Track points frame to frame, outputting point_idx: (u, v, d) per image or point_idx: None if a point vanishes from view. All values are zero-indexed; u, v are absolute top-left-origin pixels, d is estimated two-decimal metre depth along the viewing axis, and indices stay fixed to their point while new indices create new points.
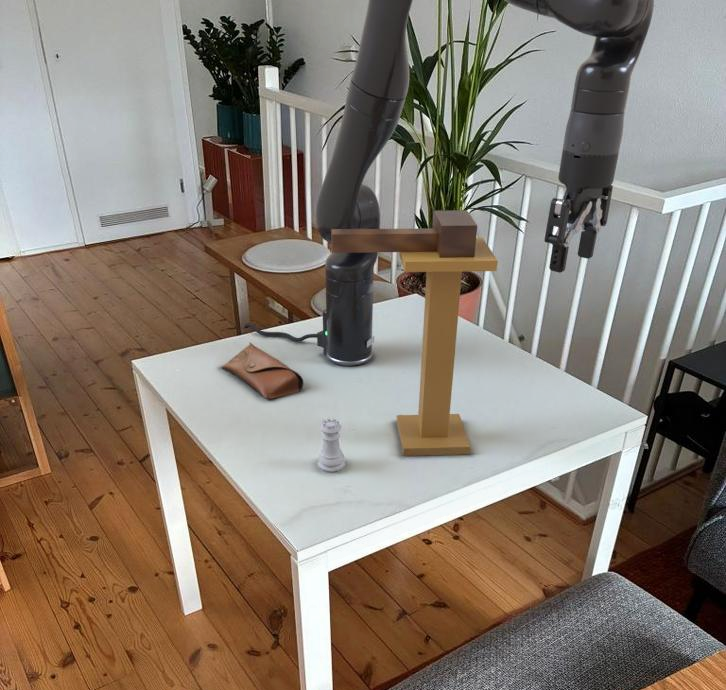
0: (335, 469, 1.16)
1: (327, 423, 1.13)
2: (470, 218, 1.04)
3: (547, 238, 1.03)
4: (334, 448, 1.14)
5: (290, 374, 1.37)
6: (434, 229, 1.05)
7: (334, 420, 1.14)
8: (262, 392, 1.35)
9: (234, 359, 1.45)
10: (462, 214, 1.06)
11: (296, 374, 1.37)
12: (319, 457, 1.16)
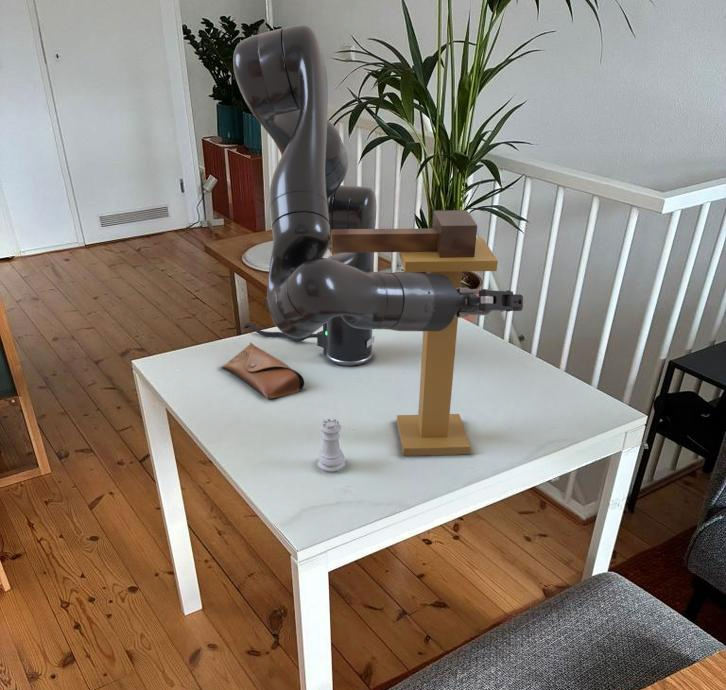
0: (335, 469, 1.16)
1: (327, 423, 1.13)
2: (470, 218, 1.04)
3: None
4: (334, 448, 1.14)
5: (290, 374, 1.37)
6: (434, 229, 1.05)
7: (334, 420, 1.14)
8: (263, 392, 1.35)
9: (234, 359, 1.45)
10: (462, 214, 1.06)
11: (297, 374, 1.37)
12: (319, 457, 1.16)
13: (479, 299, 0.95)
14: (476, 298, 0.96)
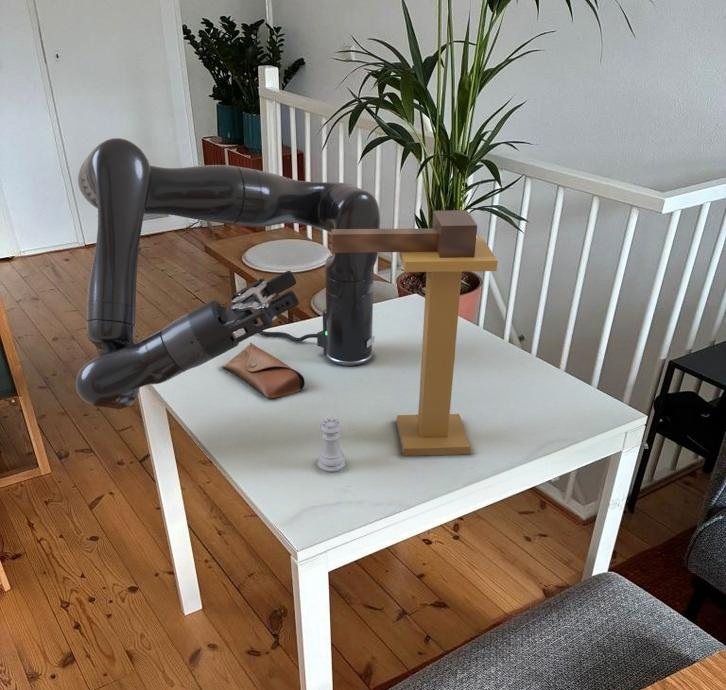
0: (335, 469, 1.16)
1: (327, 423, 1.13)
2: (470, 218, 1.04)
3: None
4: (334, 448, 1.14)
5: (291, 374, 1.37)
6: (434, 229, 1.05)
7: (334, 420, 1.14)
8: (264, 392, 1.36)
9: (234, 359, 1.45)
10: (462, 214, 1.06)
11: (297, 373, 1.37)
12: (319, 457, 1.16)
13: None
14: None
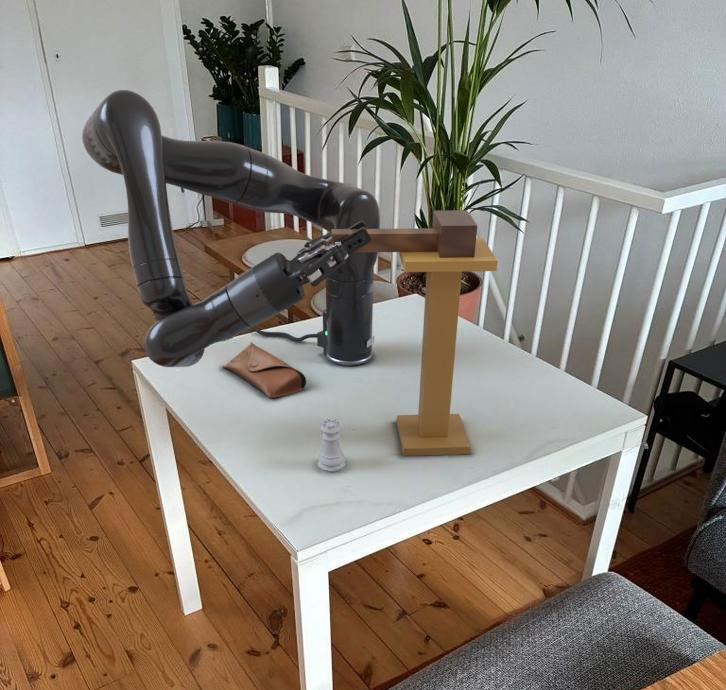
0: (335, 469, 1.16)
1: (327, 423, 1.13)
2: (470, 218, 1.04)
3: None
4: (334, 448, 1.14)
5: (292, 373, 1.37)
6: (434, 229, 1.05)
7: (334, 420, 1.14)
8: (265, 391, 1.36)
9: (235, 359, 1.45)
10: (462, 214, 1.06)
11: (299, 373, 1.37)
12: (319, 457, 1.16)
13: (307, 278, 1.02)
14: (306, 277, 1.02)
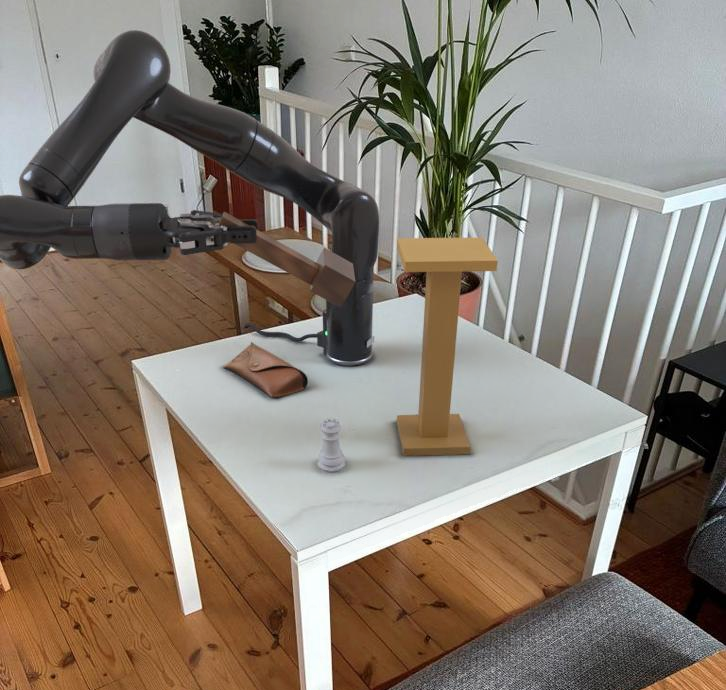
0: (335, 469, 1.16)
1: (327, 423, 1.13)
2: (352, 272, 1.07)
3: None
4: (334, 448, 1.14)
5: (294, 373, 1.37)
6: (317, 264, 1.07)
7: (334, 420, 1.14)
8: (267, 391, 1.36)
9: (236, 358, 1.45)
10: (347, 265, 1.09)
11: (301, 372, 1.37)
12: (319, 457, 1.16)
13: (179, 244, 0.98)
14: (178, 241, 0.98)
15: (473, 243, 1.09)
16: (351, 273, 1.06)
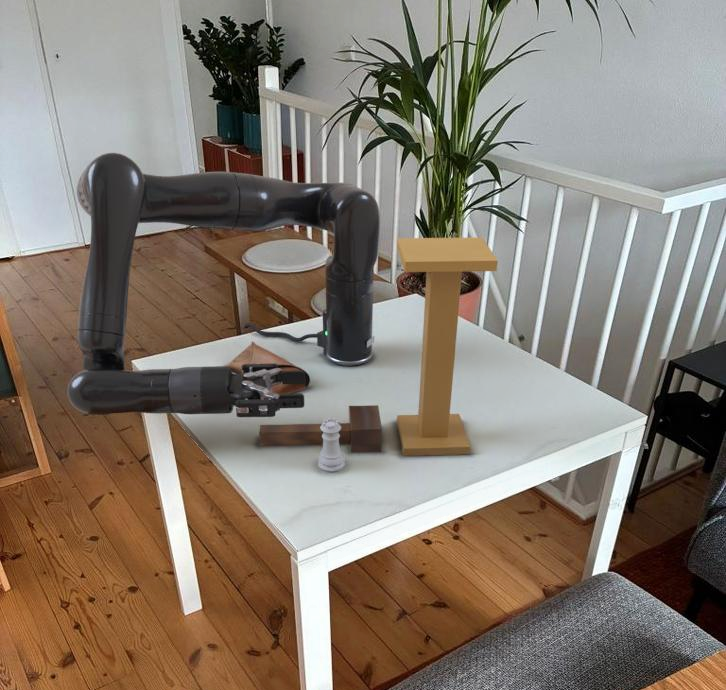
0: (335, 469, 1.16)
1: (327, 423, 1.13)
2: (378, 418, 1.21)
3: None
4: (334, 448, 1.14)
5: None
6: (348, 424, 1.23)
7: (334, 420, 1.14)
8: (270, 390, 1.36)
9: (237, 358, 1.45)
10: (372, 411, 1.23)
11: None
12: (319, 457, 1.16)
13: (236, 407, 1.12)
14: None
15: (473, 243, 1.09)
16: (377, 420, 1.21)
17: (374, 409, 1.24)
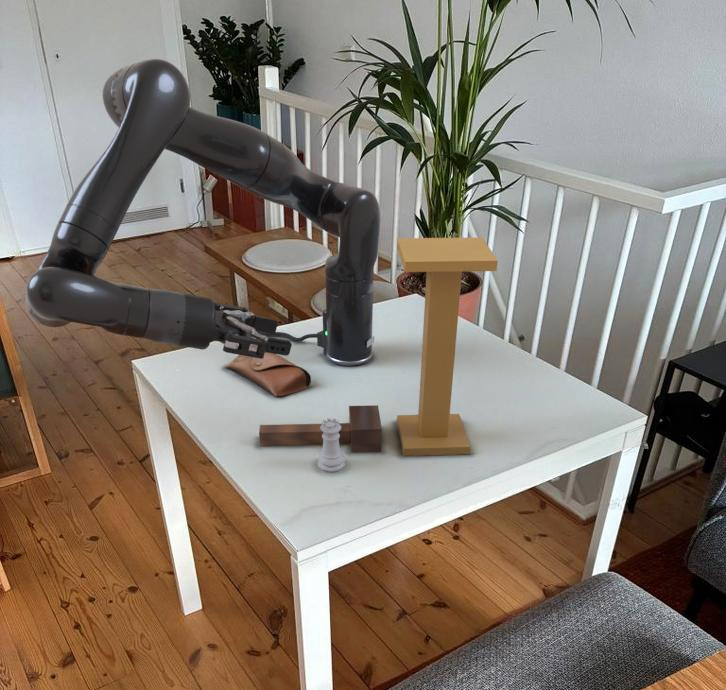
0: (335, 469, 1.16)
1: (327, 423, 1.13)
2: (378, 418, 1.21)
3: None
4: (334, 448, 1.14)
5: (297, 371, 1.38)
6: (348, 424, 1.23)
7: (334, 420, 1.14)
8: (271, 390, 1.36)
9: (238, 358, 1.45)
10: (372, 411, 1.23)
11: (304, 371, 1.38)
12: (319, 457, 1.16)
13: (224, 341, 1.04)
14: (225, 338, 1.04)
15: (473, 243, 1.09)
16: (377, 420, 1.21)
17: (374, 409, 1.24)
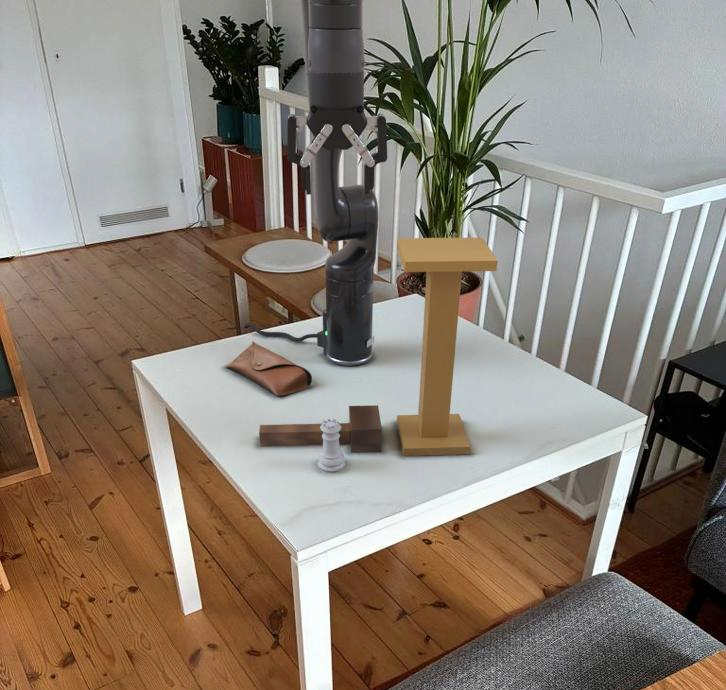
0: (335, 469, 1.16)
1: (327, 423, 1.13)
2: (378, 418, 1.21)
3: None
4: (334, 448, 1.14)
5: (298, 371, 1.38)
6: (348, 424, 1.23)
7: (334, 420, 1.14)
8: (273, 390, 1.36)
9: (238, 358, 1.45)
10: (372, 411, 1.23)
11: (305, 370, 1.38)
12: (319, 457, 1.16)
13: (379, 115, 1.03)
14: (375, 116, 1.03)
15: (473, 243, 1.09)
16: (377, 420, 1.21)
17: (374, 409, 1.24)
